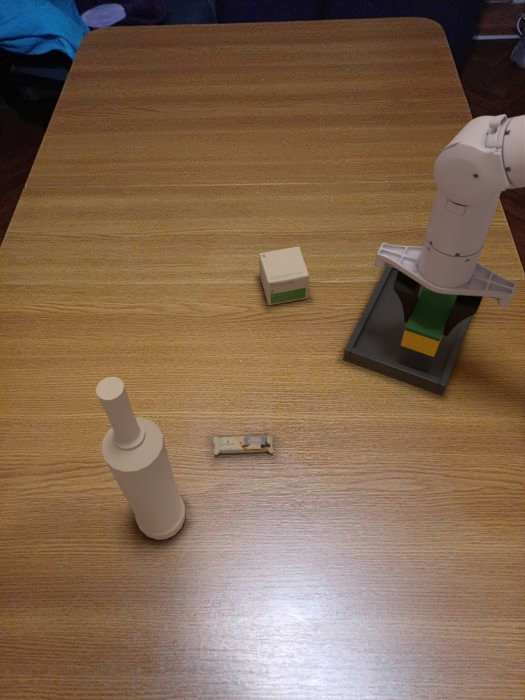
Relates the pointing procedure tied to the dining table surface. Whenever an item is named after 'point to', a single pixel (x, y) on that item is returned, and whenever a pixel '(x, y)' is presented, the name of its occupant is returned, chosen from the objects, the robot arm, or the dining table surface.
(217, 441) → the granola bar
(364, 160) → the dining table surface
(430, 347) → the sponge
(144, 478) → the bottle
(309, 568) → the dining table surface
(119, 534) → the dining table surface
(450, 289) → the robot arm
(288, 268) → the small box
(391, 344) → the tray
